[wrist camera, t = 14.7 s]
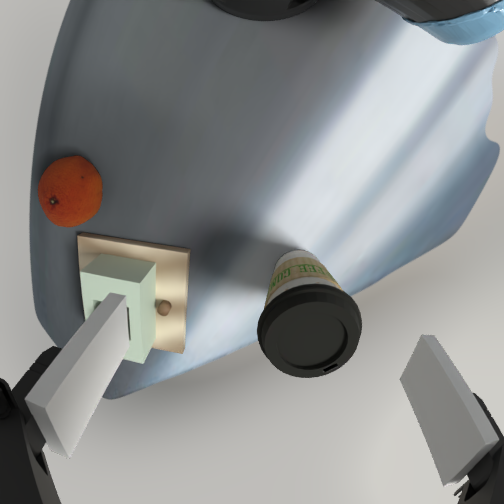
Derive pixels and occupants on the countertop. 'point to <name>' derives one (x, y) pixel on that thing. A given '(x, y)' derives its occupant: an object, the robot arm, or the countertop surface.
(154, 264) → the green block with window
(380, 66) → the countertop surface
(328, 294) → the coffee cup
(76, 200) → the fruit
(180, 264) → the post base
